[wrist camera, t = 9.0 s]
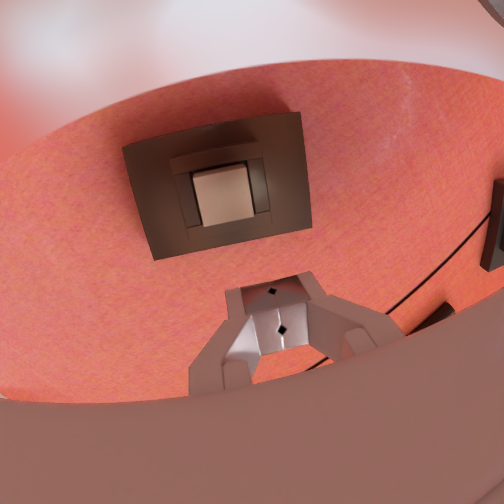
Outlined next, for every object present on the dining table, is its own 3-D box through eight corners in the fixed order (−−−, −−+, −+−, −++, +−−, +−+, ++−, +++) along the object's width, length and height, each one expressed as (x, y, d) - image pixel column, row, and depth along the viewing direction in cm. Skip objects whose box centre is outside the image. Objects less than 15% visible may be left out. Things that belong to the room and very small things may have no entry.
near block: (157, 249, 26) (150, 271, 22) (128, 144, 21) (114, 149, 18) (304, 219, 27) (319, 236, 23) (292, 112, 22) (308, 111, 19)
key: (203, 218, 21) (203, 227, 20) (193, 173, 20) (192, 178, 18) (250, 209, 22) (254, 217, 20) (243, 163, 20) (246, 167, 18)
